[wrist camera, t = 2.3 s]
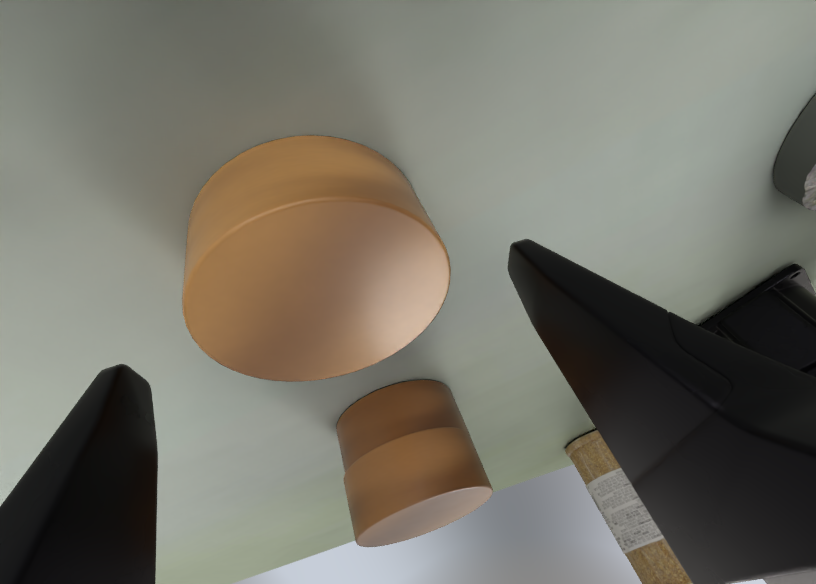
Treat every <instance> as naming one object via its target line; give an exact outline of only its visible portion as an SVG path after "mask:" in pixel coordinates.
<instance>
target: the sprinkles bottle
mask: <svg viewBox="0 0 816 584" xmlns="http://www.w3.org/2000/svg"><path fill="white" fill-rule="evenodd" d="M566 454H567V455H568V456H569V457H570V458H571V460H572V461H573V463H574V465H575V467H576V468H577V470H578V472H579V473H580V475H581V477H582V479H583V481H584V482H585V484H586V488H587V490H588V491H589V493H590V495H591V497H592V499H593V500H594V502H595V504H596V505H597V507H598V509H599V511H600V512H601V514H602V516H603V518H604V519H605V521H606V523H607V525H608V526H609V528H610V530H611V532H612V533H613V535H614V537H615V539H616V540H617V542H618V544H619V546H620V547H621V549H622V551H623V553H624V554H625V555H626V556H627V558H628V559H629V561H630V563H631V565H632V567H633V568H634V570H635V572H636V573H637V575H638V577H639V578H640V581H641V582H642V584H693V583H692V581H691V580H690V578H689V577H688V575H687V574H686V572H685V570H684V569H683V567H682V566H681V564H680V562H679V561H678V559H677V558H676V556H675V554H674V553H673V551H672V550H671V548H670V546H669V545H668V543H667V541H666V540H665V538H664V537H663V535H662V533H661V532H660V530H659V529H658V527H657V525H656V524H655V522H654V521H653V519H652V517H651V516H650V514H649V512H648V511H647V509H646V508H645V506H644V504H643V503H642V501H641V500H640V498H639V496H638V495H637V493H636V492H635V490H634V488H633V487H632V485H631V482H630V481H629V480H628V478H627V477H626V475H625V473H624V472H623V470H622V469H621V467H620V465H619V464H618V462H617V461H616V459H615V457H614V456H613V454H612V452H611V451H610V449H609V448H608V446H607V444H606V443H605V441H604V440H603V438H602V436H601V435H600V433H599V432H598V430H596V431H593V432H591V433H588V434H586V435H584V436H582V437H579V438H578V439H576V440H575V441H573V442H572V443H571V444H569V445H568V447H567V448H566Z"/></svg>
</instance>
